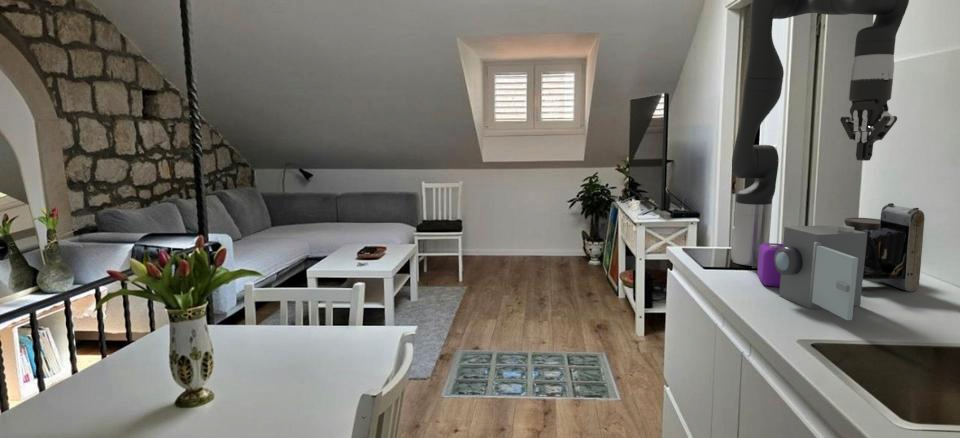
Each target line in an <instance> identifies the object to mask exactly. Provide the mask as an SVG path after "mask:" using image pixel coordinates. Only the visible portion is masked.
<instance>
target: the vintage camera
mask: <svg viewBox="0 0 960 438" xmlns="http://www.w3.org/2000/svg"><path fill="white" fill-rule="evenodd" d="M924 230H925V213H924V212H923V210H921V209H920V208H919V207H912V208H910V207H904V206H899V205H898V206H897V205H895V204H894V203H893V202H892V203H891V202H890V203H888V204H885V205H884V206H883V207H882V208H881V211H880V229H878V230H874V231H869V230H863V231H861V232H866V233H867V243H866V253H865V263H864V273H863V280H877V281H879V282H880V283H884V284H885V285H888V286H891V287H894V288H898V289H900V290H903V291H906V292H909V293H910V292H911V293H912V292H916V290H917V289H919V287H920V278H921V267H922V255H923V245H924V244H923V241H924Z"/></svg>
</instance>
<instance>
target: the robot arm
mask: <svg viewBox="0 0 960 438" xmlns="http://www.w3.org/2000/svg"><path fill="white" fill-rule="evenodd" d="M909 3H910V0H751V3H750V4H751V5H750V16H749V17H750V18H749V19H750V20H749V21H750V22H749V43H748V44H749V45H748V55H747V63H746V69H745V76H744V81H743V82H744V84H743V92H742V102H741V103H742V104H741V111H740V117H739V118H740V119H739V124H738V128H737V133H736V139H735V142H734V146H733V153H732V160H731V168H732V169H731V171H732V173H733V175H734V177H736V178H738V179H755V180H754V182H753V184H751V185H750V186H748V187H747V188H744V189H742V190H741V189H740V190H739V191H737V192H736V197H735V209H734V210H735V211H734V223H733V224H734V225H733V227H732V231H731V232H732V233H731V247H730V261H731V262H732V263H734V264H738V265H742V266H749V267H751V266H752V267H758V258H759V248H760V246H761V244H764V243H770V239H771V226H772V225H771V224H772V223H771V222H772V213H773V212H772V208H773V198H774V195H775V194H776V193H775V192H776V186H777V178H778V172H779V161H780V159H779V154H778V149H777V148H776V147H775V146H773V145H770V144H755V140H756V138H757V134H758V130H759V129H760V126H761V125H762V123H763V122H764V120H765V119H766V118H767V117H768V115H769V114H770V113H771V112H772V110H774V107H776V105H777V104H778V102H779V100H780V98H781V94H782V90H783V83H784V74H785V73H784V66H783V63H782V61H781V58H780V56H779V54H778V51H777V49H776V46H775V44H774V42H773V41H774V39H773V24H774V23H773V21H774V20H782V19H783V20H784V19H789V18H793V17H797V16H801V15H806V14H819V15H820V14H821V15H828V16H829V15H830V16H832V15H833V16H836V15H838V16H839V15H840V16H844V15H845V16H846V15H864V16H866V15H870V16H875V18H874V20H873V23H872V25H871V26H867V27H864V28H861V29H860V30H858V31H857V34H856V37H855V46H854V56H853V57H854V58H853V62H852V66H851V70H850V71H851V73H850V83H849V93H848V100H849V102H851V106H850V108H849V113H848V114H847V115H846V116H842V117H840V119H839V121H840V123H841V126H842V127H843V128H844V131H845V133H846V135H847V137H848V138H849V139H850V140H853V141H854V142H855V143H856V152H855V157H856V160H857V161H866V162H867V161H871V159H872V156H873V150H874V143H876V142H877V141H882V140H883V139H884V138H885V136H886V135H888V133H889V131H890V130H891V129H892V127H893V126H894V125H895V124H896V122H897V121H898V117H897V116H896V115H892V114H891V113H890V112H889V105H888V101H891V99H892V91H893V83H894V82H893V81H894V74H895V73H894V71H895V49H896V40H897V39H896V38H897V35H898V31H899V29H900V27H901V24H902V22H903V19H904V16H905V14H906V11H907V9H908V6H909Z"/></svg>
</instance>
